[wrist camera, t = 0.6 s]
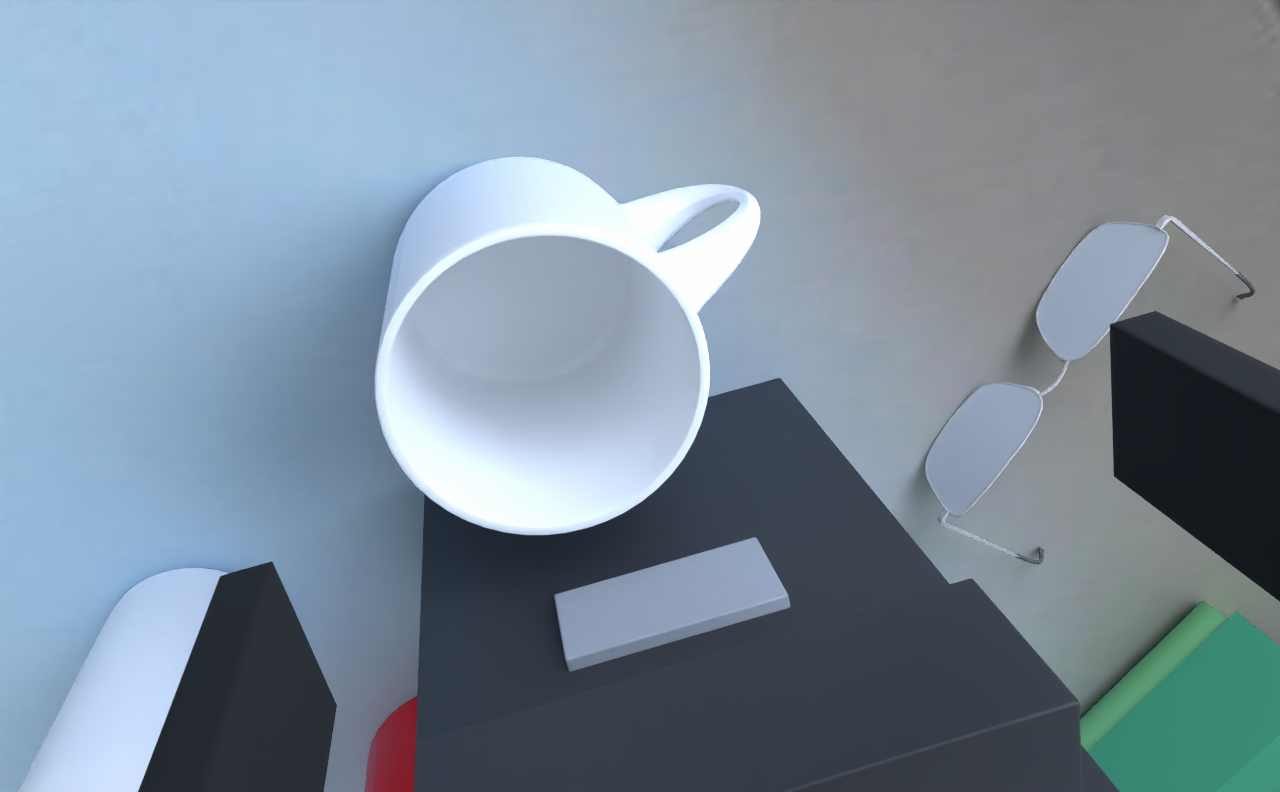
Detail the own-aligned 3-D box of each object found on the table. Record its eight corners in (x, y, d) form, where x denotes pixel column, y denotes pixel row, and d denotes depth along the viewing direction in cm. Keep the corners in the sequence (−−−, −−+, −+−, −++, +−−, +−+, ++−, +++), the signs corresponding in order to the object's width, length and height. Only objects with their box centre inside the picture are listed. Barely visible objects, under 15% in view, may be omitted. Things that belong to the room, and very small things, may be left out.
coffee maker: (400, 404, 37) (348, 926, 17) (768, 305, 38) (1134, 684, 18) (462, 582, 40) (481, 1196, 20) (798, 487, 41) (1135, 979, 21)
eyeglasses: (1113, 192, 38) (1189, 219, 35) (1235, 284, 42) (1315, 318, 38) (900, 484, 42) (949, 536, 38) (1028, 548, 45) (1084, 602, 42)
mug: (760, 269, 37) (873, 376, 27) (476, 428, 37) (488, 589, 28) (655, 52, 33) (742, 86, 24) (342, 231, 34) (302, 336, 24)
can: (113, 552, 37) (-26, 797, 26) (298, 570, 38) (240, 808, 28) (105, 695, 39) (-27, 977, 28) (280, 707, 41) (220, 977, 30)
